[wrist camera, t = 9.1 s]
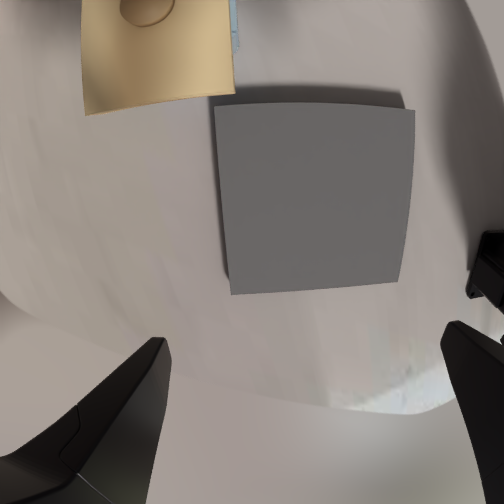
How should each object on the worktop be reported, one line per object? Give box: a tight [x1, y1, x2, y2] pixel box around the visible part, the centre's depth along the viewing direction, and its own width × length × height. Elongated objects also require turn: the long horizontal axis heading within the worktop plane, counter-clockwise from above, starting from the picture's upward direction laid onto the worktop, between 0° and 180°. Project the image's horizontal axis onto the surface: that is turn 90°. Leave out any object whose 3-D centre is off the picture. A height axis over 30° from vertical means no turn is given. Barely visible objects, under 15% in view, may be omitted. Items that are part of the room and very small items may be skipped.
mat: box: [214, 102, 415, 295], centre depth 19 cm, size 12×12×1 cm
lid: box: [81, 0, 235, 116], centre depth 10 cm, size 6×9×3 cm
